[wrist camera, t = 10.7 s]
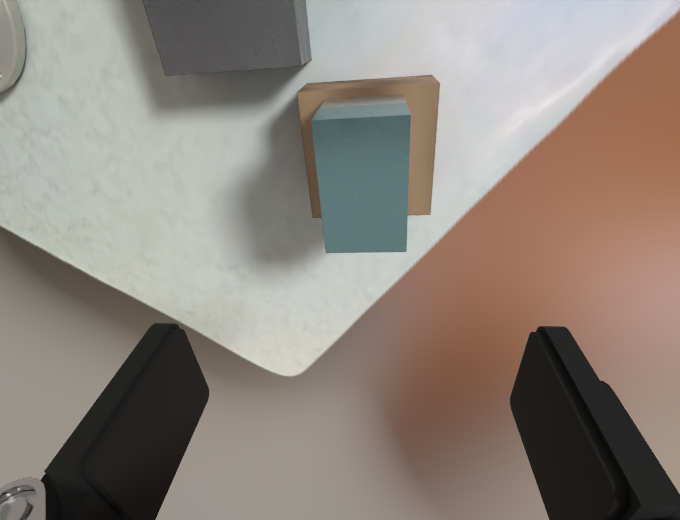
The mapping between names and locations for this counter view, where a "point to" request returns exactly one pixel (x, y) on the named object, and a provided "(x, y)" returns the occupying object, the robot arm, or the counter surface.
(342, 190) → the teal and grey block
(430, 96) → the stand
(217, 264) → the counter surface
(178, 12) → the stand
